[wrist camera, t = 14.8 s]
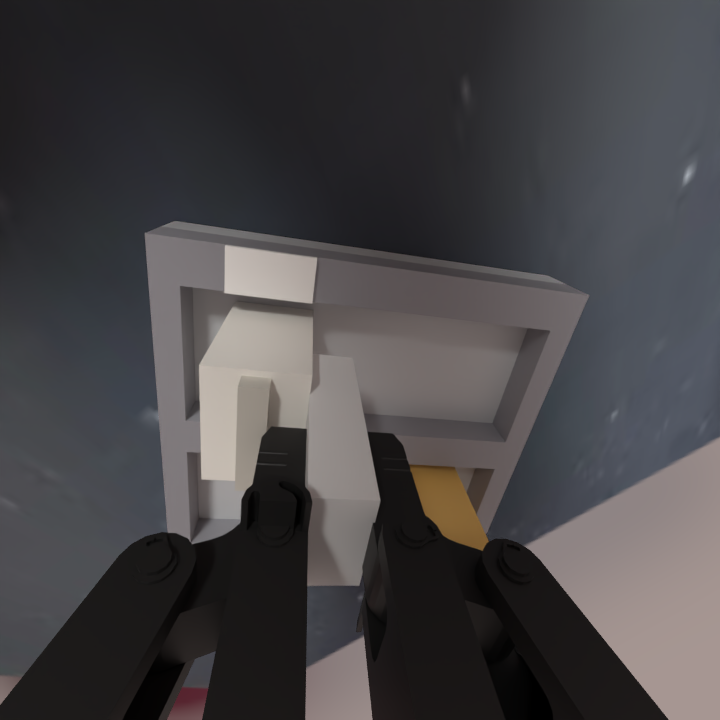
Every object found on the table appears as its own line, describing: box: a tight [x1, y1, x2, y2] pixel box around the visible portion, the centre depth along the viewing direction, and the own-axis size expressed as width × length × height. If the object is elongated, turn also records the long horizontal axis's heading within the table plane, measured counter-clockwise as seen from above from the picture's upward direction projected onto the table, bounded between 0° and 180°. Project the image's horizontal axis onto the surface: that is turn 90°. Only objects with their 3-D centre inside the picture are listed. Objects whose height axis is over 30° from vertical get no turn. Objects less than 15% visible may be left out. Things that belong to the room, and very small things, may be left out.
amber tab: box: [409, 464, 489, 551], centre depth 18 cm, size 3×4×6 cm
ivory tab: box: [199, 301, 313, 491], centre depth 14 cm, size 3×4×6 cm
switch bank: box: [145, 221, 589, 544], centre depth 18 cm, size 16×16×3 cm
